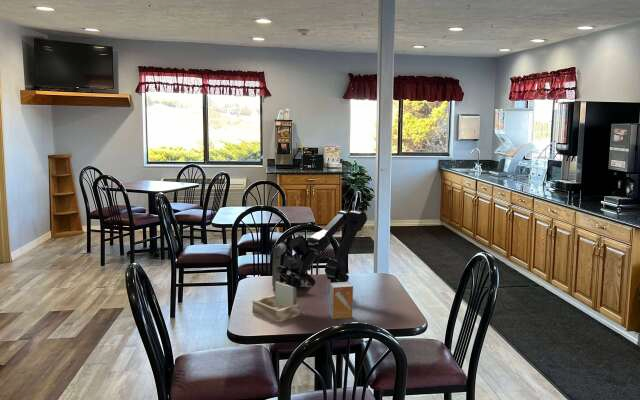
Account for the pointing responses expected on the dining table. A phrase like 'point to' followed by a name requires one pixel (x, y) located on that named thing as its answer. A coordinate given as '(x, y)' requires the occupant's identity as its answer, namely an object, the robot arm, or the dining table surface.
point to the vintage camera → (280, 263)
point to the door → (284, 295)
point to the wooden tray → (275, 309)
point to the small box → (340, 300)
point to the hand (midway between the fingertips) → (284, 293)
